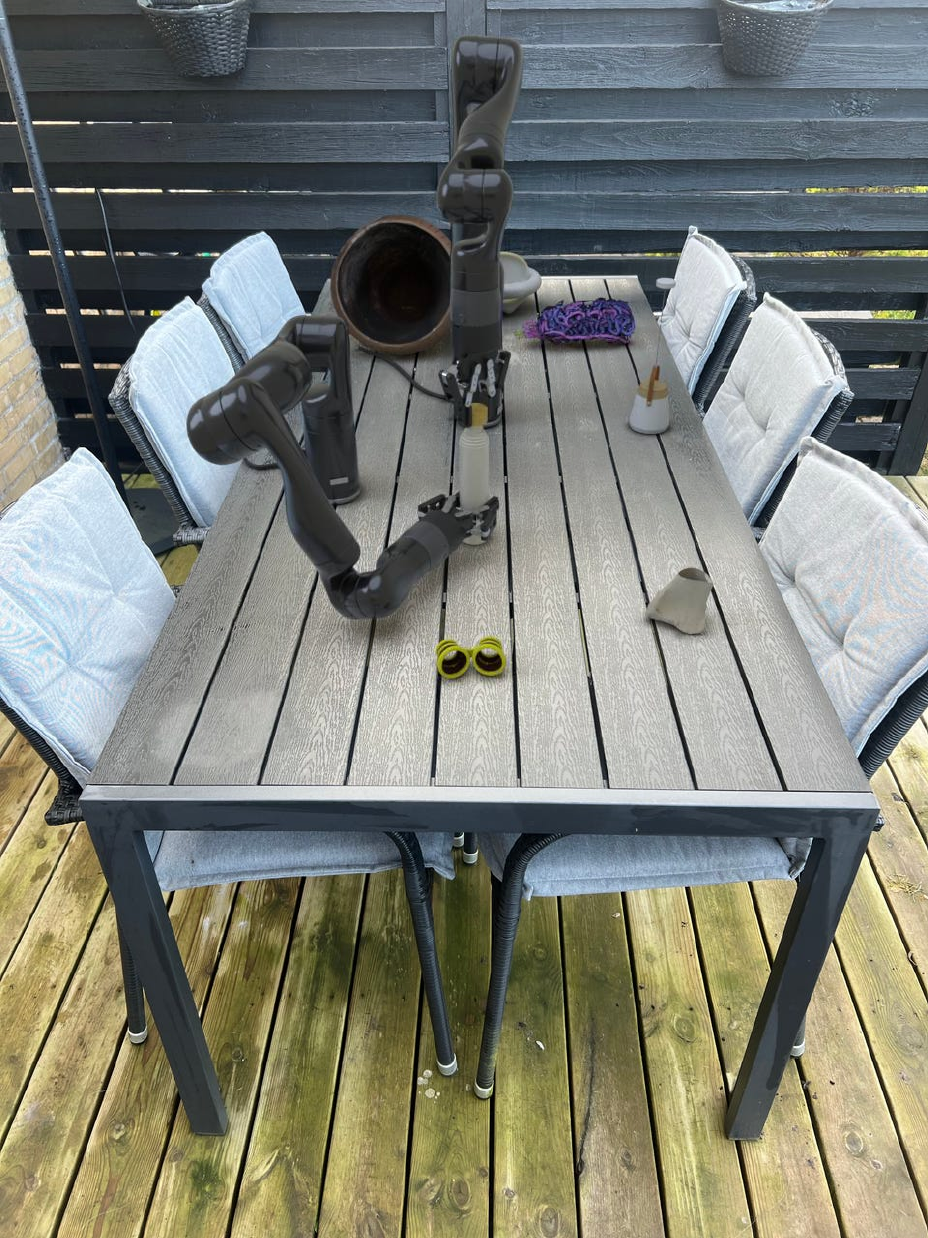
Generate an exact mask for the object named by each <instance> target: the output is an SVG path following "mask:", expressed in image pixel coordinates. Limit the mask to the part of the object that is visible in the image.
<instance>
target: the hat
mask: <svg viewBox="0 0 928 1238" xmlns="http://www.w3.org/2000/svg"><path fill="white" fill-rule="evenodd" d="M500 261H501V263H502V266H503V269H504V295H503V309H502V312H503V313H505V314H512V313H514V311H516V309H517V308H518V307H519V306H520V305H522V303H524V302H525V301H526V300H527V299H528V297H529V296H531V295H533V294H535V293H536V292H538V291H539V290H540V288H541V286H542V282H543V280H542V276H541V274H539V273H540V272H538V271H537V270H535V269H533V268H532V267H529V266H528V264H527V262H526V260H525V259H524V258H523V257H522V256H520V255H519V254H517V253H514V252H509V251H500Z"/></svg>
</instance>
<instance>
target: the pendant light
mask: <svg viewBox="0 0 928 1238" xmlns="http://www.w3.org/2000/svg"><path fill="white" fill-rule="evenodd" d="M676 283H677V280H675V279H673V278H671V277H660V278H657V279H656V281H655V286H656V287H657V288H660V289H663V290H664V293H663V301H662V309H661V318H660V326H659V333H658V334H659V335H658V342H657V350H656V358H655V364H654V365H653V367H652V370H651V372H650V377H649V379H646V380H643V381H641V382H639V383H640V384H639V386H638V389H637V391H636V395H635V399H634V402H633V406H632V410H631V412H630V417H629V419H628V421H629V426H630V428H631V429H632V430H633V431H635V432H637V433H641V434H644V435H657V434H662V433H664V432H666V430H668V428H669V425H670V413H669V412H670V410H669V409H670V408H669V389H668V385H667V383H665V382H664V381H661V380H660V371H661V368H660V365H658V364H657V363H658V355H659V348H660V339H661V331H662V323H663V313H664V307H665V300H666V299H665V298H666V290H668V289H669V290H671V289H674V288H675V287H676V285H677V284H676Z"/></svg>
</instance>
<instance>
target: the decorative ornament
mask: <svg viewBox="0 0 928 1238" xmlns="http://www.w3.org/2000/svg"><path fill="white" fill-rule="evenodd" d="M587 302H589V300H576V301H572V302H571V303H568V304H566V305H564V303H565V299H562V300H560V301H558V302H557V303H556V304H555V305H547V306H546V307H544V308H543V309H542V310H541V311H540V316H538V318H537V319H536V321H534V316H533V315H532V316H531V317H530V318H529V320H527V322H524V323H522V326H521V328H519V329H518V330H517V331H514V332H513V335H514V337H515V339H518V341H520V339H523V340H524V341H526V340H527V339H530V342H532V341H534V340H537V341H539V340H540V343H539V345H543V343H544V342H549V343H550V344H553V345H560V344H563V343H564V344H570V343H571V342H575V343H577V344H578V345H580V343H581V342H582V341H591V342H592V341H593V340H604V341H605V344H606V345H611V344H623V345H627V344H630V343H631V342H630V341H631V339H632V335H633V334H635V330H636V323H635V322H636V321H635V316H634V315H633V312H632V308H631V307H630V306H629V304H628V303H629V301H625V300H622V299H617V300H616V299H615V298H611V297H610V298H608V299H607V298H606V297H601V296H600V297H598V298H595V299H594V300H593V299H592V300H590V302H591V304H587Z"/></svg>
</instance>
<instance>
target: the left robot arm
mask: <svg viewBox="0 0 928 1238" xmlns="http://www.w3.org/2000/svg"><path fill="white" fill-rule="evenodd" d="M350 339H351V338H350V334H349V330H348V326H347V324H346V322H345V320H344V319H343V318H341V317H338V315H337V316H335V315H313V314H312V315H311V314H310V315H309V314H308V315H306V314H302V315H301V314H300V315H296V316H292V317H291V318H289V319H288V320H287V321H286V322H285V323H284V325H283V326H282V328H281V329H280V330H279V332H278V333H277V335H276V336H275V337H274V339H272V340H271V341H270V342H269V343H268V345H266V346H265V347H264V348H262V349H261V350H259V351H258V352H257V353H256V354H255V355H254V356H253V355H252V357H251V358H250V359H249V360H248V361H247V362H245V364H244V365H243V366H242V367H241V368H240V369H239V370H238V371H237V372H236V373H235V374H234V375H233V376H232V377H231V379H229V381H228V382H227V383H226V384H225V385H222V386H221V387H219V388H216V389H215V390H214V391H212V392H210V393H208V394H206V395H205V396H203V397H201V398H199V399H198V400H196V401H195V402H194V403H193V404H192V405H191V407H190V408H189V410H188V413H187V416H186V425H185V427H186V433H187V438H188V440H189V443H190V445H191V447H192V448H193V450H194V452H195V453H196V454H197V455H198V456H199V457H201V458H202V459H203V460H205V461H206V462H208V463H210V464H213V465H217V466H229V465H233V464H236V463H238V462H241V461H242V460H243V462H244V463H245V464H246V465H247V466H248V467H250V468H252V469H255V470H264V469H272V468H279V471H280V473H281V477H282V482H283V488H284V501H285V502H284V503H285V513H286V520H287V521H286V522H287V525H288V528H289V531H290V534H291V536H292V538H293V539H294V540H295V542H296V543H297V545H298V547H299V549H301V551H303V553H304V555H306V557H307V558H308V560H309V561H310V562H311V564H312V565H313V567H315V568H316V570H317V572H318V576H319V578H320V582H321V584H322V586H323V588H324V590H325V593H326V596H327V598H328V600H329V602H330V605H331V606H332V607H333V609H334V610H335V611H336V612H337V613H338V614H339V615H340V616H342V617H343V618H345V619H347V620H352V621H360V620H374V619H375V620H376V619H384V618H387V617H389V616H392V615H394V613H396V612H398V611H399V609H400V608H401V607H403V605H404V603H405V601H406V600H407V598H408V596H409V595H410V593H411V592H412V590H413V587H414V586H415V585H416V584H418V582H419V581H421V580H422V579H423V578H424V577H425V576H426V575H428V574H429V573H431V571H434V570H435V569H436V568H438V566H439V565H441V564H442V563H443V562H444V561H445V560H447V558H449V557H450V556H451V555H452V554H453V553H455V551H457V550H458V549H459V547H460V546H461V545H462V543H463V540H464V539H465V538H468V537H470V536H472V535H479V536H481V540H482V541H486V542H487V541H489V539H490V537H491V535H492V533H493V532H494V529H495V528H496V527H497V523H498V521H497V520H498V516H497V515H498V510H500V499H499V496H496V495H492V497H491V498H489V501H487V502H486V503H485V504H484V506H481V507H479V508H477V509H476V508H475V507H473V508H470V509H468V510H466V511H462V510H460V490H459V491H458V492H456V493H455V494H454V495H453V494H451V495H449V496H446V494H444V493H440V494H437V495H435V496H434V497H432V498H429V499H428V500H426V501H424V502H422V503H419V504H418V505H417V519H418V520H417V521H416V522H414V523H413V524H412V525H411V526H410V527H409V528H407V529H406V530H405V531H404V532H403V533H402V534H401V535H400V537H399V538H397V539H395V541H394V542H392V544H390V545H389V546H387V547H386V548H384V550H383V551H382V552H381V553H380V554H379V556H378V557H377V559H376V562H375V569H374V570H368V571H359V572H358V571H357V570H356V569H355V567H354V566H355V565H356V564H357V563H358V562H359V560H360V557H361V554H362V553H361V552H362V551H361V550H362V549H361V546H360V544H359V542H358V540H357V539H356V537H355V536H354V535H353V533H352V531H351V530H350V529H349V528H348V526H347V525H346V523H345V522H344V520H343V519H342V518H341V516H340V515H339V513H337V511H336V509H335V508H334V505H343V504H348V503H350V502H352V501H354V500H355V499H357V498H358V497H360V495H361V493H362V487H361V483H360V473H359V472H360V470H359V458H358V447H357V438H356V436H357V435H356V424H355V415H354V401H353V384H352V370H351V369H352V368H351V340H350ZM313 373H322V374H323V373H325V374H326V373H327V374H329V377H328V378H325V379H323V380H322V381H318V382H315V383H313ZM312 383H313V384H312ZM298 405H299V409H300V416H301V425H302V432H303V440H304V445H302V446H301V445H300V443H299V441H298V439H297V438H296V436H295V434H294V432H293V430H292V429H291V426H290V424H289V422H288V420H287V419H286V417H285V415H287V414H288V413H289V412H291V411H292V410H293V409H295V408H296V407H297V406H298ZM264 449H267V451H268V452H269V454H271V456H272V457H273V458H274V460H275V462H273V463H266V464H265V463H264V464H254V463H252V462H251V461H250V460H249V459H248V457H250V456H252V455H254V454H257V453H259V452H260V451H262V450H264ZM437 504H438V505H437ZM480 514H482V517H480ZM471 515H472V516H471Z"/></svg>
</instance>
